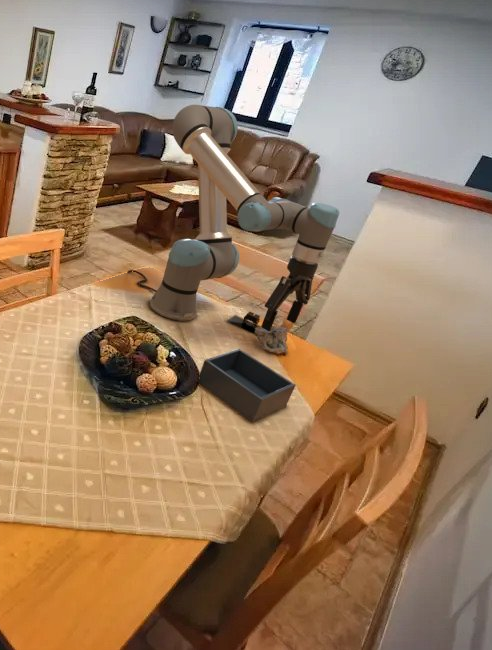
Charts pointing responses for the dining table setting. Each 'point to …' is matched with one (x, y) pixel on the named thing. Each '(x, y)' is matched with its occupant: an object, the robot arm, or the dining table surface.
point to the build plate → (246, 322)
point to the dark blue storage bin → (246, 384)
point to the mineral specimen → (273, 339)
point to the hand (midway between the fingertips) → (278, 325)
